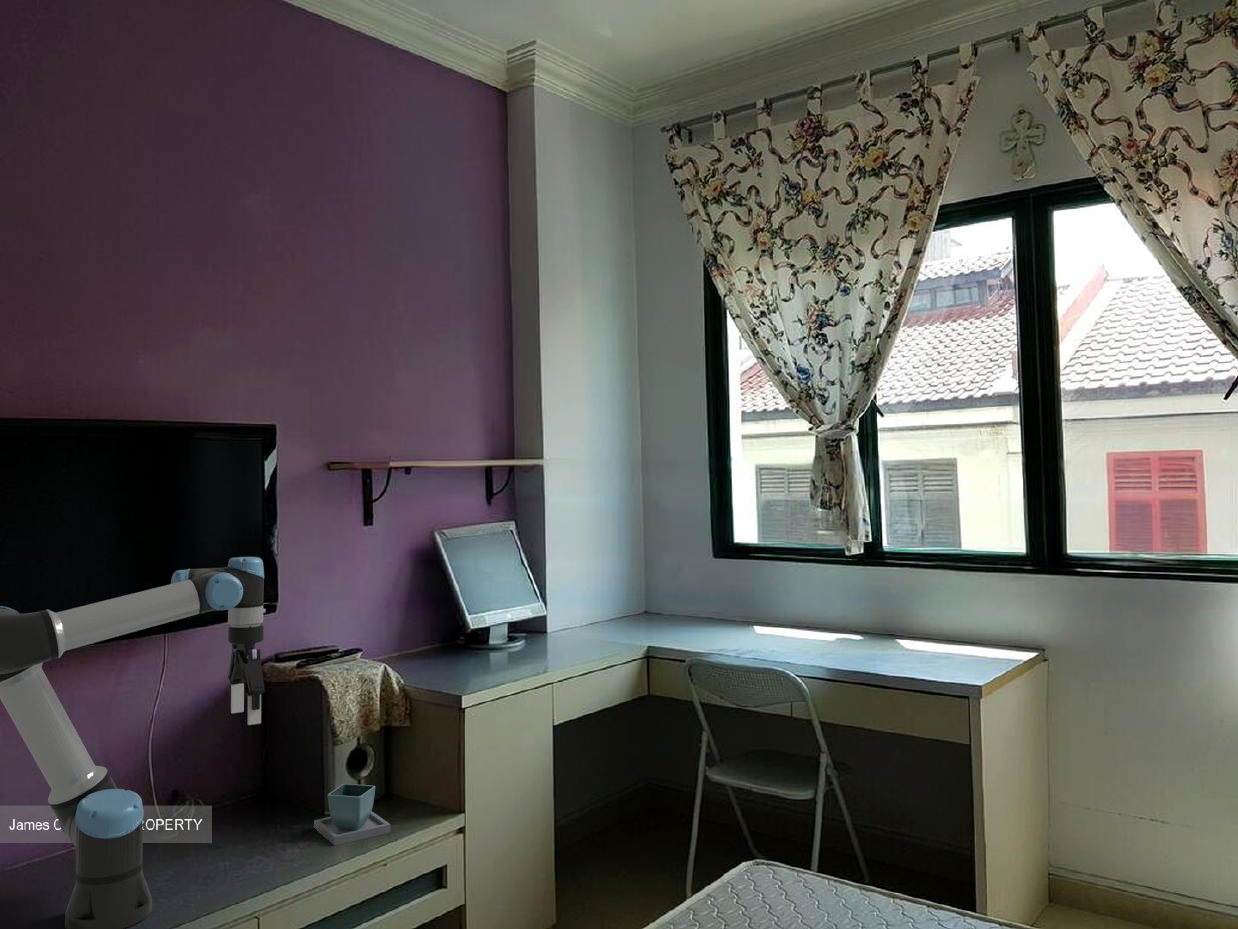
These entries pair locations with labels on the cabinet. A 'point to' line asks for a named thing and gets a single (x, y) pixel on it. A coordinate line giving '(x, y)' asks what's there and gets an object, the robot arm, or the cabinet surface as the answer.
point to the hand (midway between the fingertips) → (245, 718)
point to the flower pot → (351, 805)
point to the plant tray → (341, 836)
